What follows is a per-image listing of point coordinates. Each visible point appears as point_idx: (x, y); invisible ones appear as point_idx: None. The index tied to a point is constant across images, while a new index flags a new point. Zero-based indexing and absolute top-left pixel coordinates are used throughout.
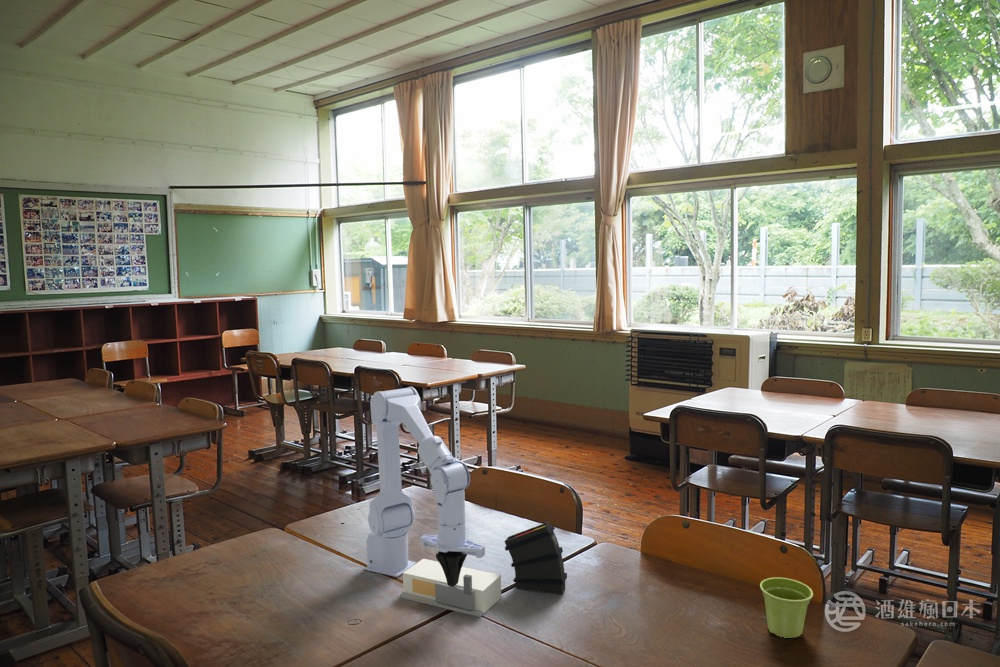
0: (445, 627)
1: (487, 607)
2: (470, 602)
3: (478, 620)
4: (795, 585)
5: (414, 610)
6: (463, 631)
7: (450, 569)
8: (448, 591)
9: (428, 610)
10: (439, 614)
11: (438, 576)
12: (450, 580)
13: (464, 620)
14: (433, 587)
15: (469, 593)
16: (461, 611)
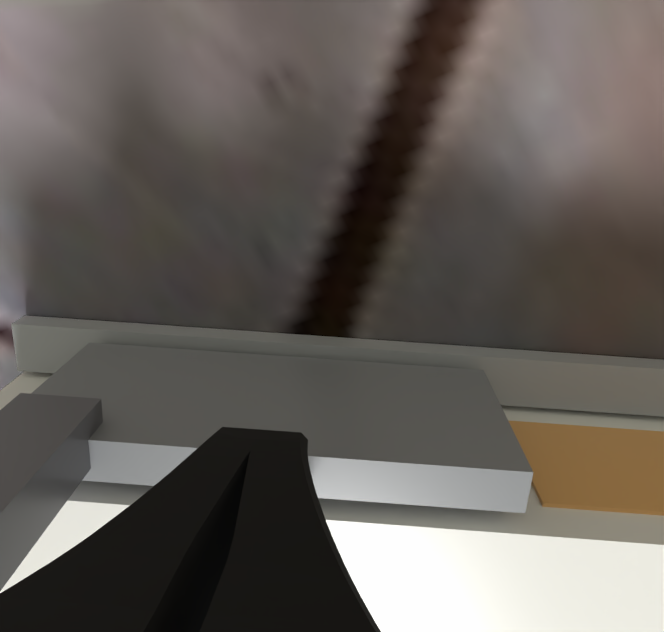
0: (203, 37)
1: None
2: (75, 373)
3: (10, 265)
4: None
5: (632, 214)
6: (12, 38)
7: (116, 595)
8: (332, 424)
9: (502, 261)
10: (373, 234)
11: (561, 619)
12: (226, 463)
13: (115, 221)
14: (558, 475)
15: (12, 404)
16: (205, 330)
